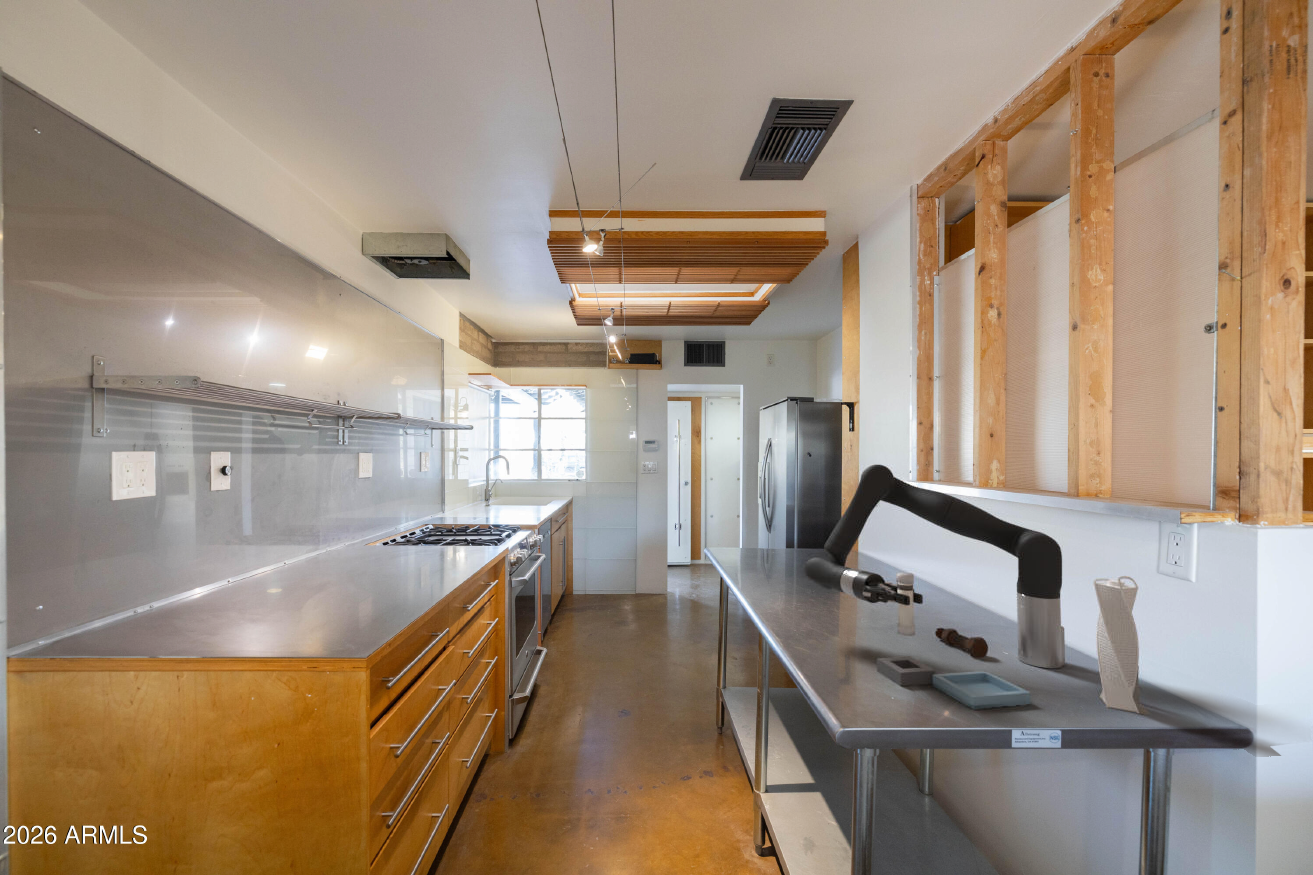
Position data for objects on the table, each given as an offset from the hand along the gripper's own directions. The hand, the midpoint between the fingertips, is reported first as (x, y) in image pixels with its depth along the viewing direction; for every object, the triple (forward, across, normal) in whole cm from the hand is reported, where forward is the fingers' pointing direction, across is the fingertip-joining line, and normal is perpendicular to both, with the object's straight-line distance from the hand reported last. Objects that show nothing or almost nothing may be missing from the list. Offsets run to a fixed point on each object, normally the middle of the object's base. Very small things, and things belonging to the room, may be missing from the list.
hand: (915, 600), depth 125 cm
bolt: (-14, +30, +19) cm, 39 cm away
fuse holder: (-3, 0, +19) cm, 19 cm away
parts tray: (+10, +8, +19) cm, 23 cm away
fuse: (-3, 0, +8) cm, 9 cm away
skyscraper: (+24, +32, +20) cm, 44 cm away
